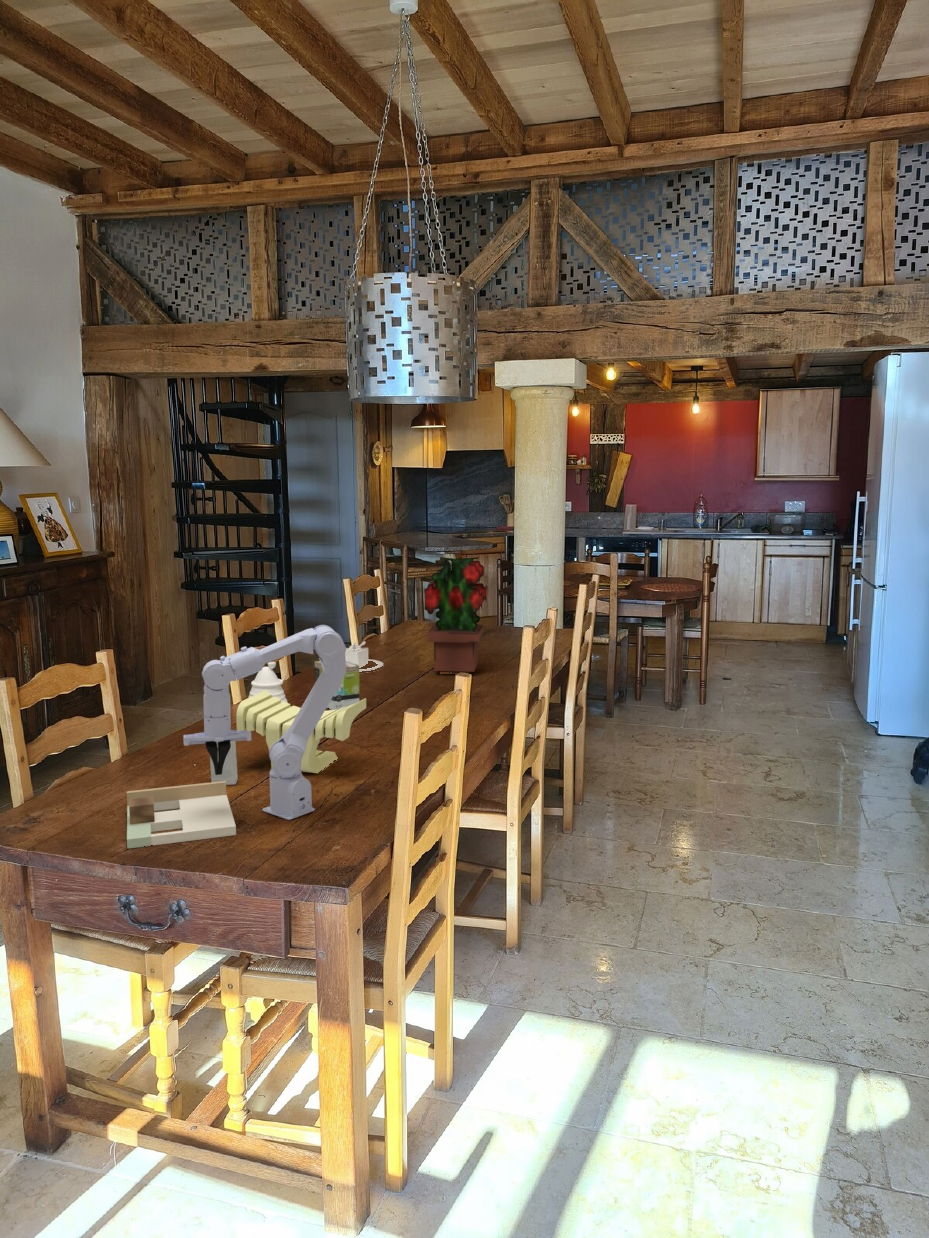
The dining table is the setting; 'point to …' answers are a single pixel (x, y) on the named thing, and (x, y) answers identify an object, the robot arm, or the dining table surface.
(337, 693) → the tea box
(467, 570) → the potted plant
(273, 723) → the slatted curved stool
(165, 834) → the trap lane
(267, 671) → the honey pot
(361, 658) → the white block with ring
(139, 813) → the walnut block
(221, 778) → the skincare box
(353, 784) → the dining table surface
